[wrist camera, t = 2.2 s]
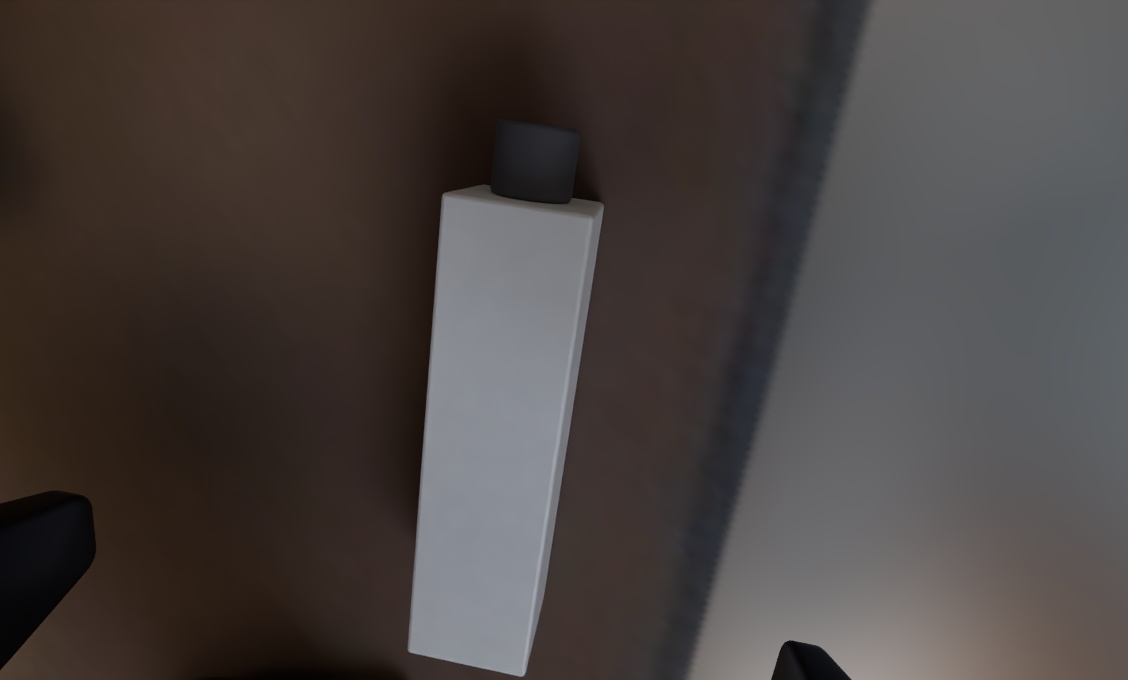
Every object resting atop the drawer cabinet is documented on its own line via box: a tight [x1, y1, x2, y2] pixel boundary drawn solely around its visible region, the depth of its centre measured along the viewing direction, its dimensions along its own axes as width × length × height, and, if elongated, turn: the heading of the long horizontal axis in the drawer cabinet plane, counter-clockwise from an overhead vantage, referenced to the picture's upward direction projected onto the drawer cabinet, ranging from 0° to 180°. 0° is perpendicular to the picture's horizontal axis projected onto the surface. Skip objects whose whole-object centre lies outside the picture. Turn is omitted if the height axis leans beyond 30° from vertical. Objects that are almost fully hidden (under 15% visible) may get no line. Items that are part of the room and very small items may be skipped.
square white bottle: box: [408, 119, 604, 676], centre depth 12 cm, size 10×2×2 cm, turn 172°
